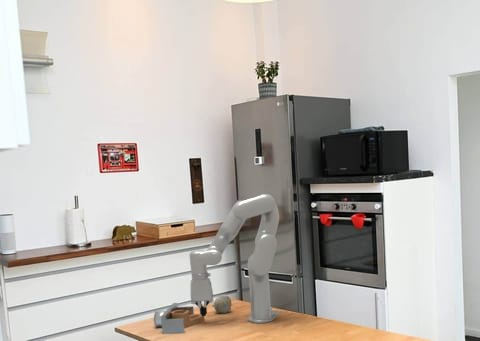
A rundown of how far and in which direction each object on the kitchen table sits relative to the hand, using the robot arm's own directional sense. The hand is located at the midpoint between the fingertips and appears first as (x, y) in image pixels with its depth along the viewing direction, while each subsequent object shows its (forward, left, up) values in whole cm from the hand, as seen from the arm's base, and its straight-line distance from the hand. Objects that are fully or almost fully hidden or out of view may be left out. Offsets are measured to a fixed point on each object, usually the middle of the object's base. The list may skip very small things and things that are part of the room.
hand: (203, 315), depth 227 cm
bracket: (+8, -3, -5) cm, 10 cm away
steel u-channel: (+16, 0, -4) cm, 17 cm away
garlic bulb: (-6, -21, -5) cm, 22 cm away
